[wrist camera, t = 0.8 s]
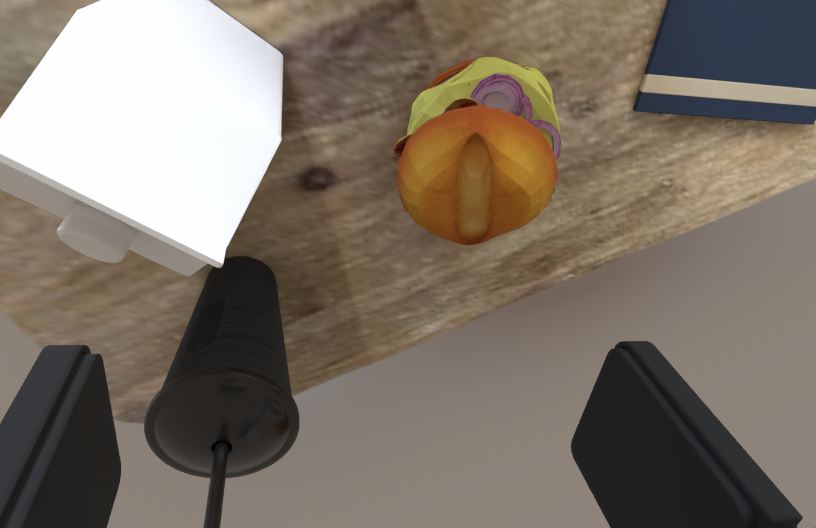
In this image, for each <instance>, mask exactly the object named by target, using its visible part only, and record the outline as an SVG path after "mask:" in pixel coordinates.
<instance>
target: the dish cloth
mask: <svg viewBox="0 0 816 528" xmlns="http://www.w3.org/2000/svg"><path fill="white" fill-rule="evenodd" d="M633 110H634V111H640V112H653V113H667V114H680V115H693V116H706V117H720V118H733V119H746V120H759V121H772V122H786V123H799V124H814V122H815V120H816V0H668V2H667V5H666V8H665V11H664V14H663V17H662V21H661V24H660V27H659V30H658V33H657V36H656V39H655V42H654V45H653V48H652V52H651V55H650V58H649V61H648V64H647V67H646V70H645V73H644V76H643V79H642V83H641V86H640V89H639V92H638V95H637V98H636V101H635V104H634V107H633Z"/></svg>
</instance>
